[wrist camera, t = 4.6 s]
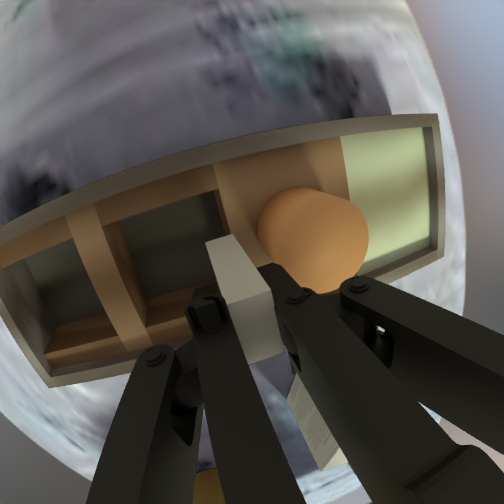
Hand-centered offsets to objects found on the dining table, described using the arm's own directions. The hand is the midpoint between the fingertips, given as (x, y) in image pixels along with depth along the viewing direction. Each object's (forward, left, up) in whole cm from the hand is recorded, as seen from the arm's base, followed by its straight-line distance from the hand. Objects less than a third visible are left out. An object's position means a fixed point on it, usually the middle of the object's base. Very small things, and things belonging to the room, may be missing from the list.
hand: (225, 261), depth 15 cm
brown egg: (0, -5, -2) cm, 5 cm away
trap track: (0, -1, -6) cm, 6 cm away
